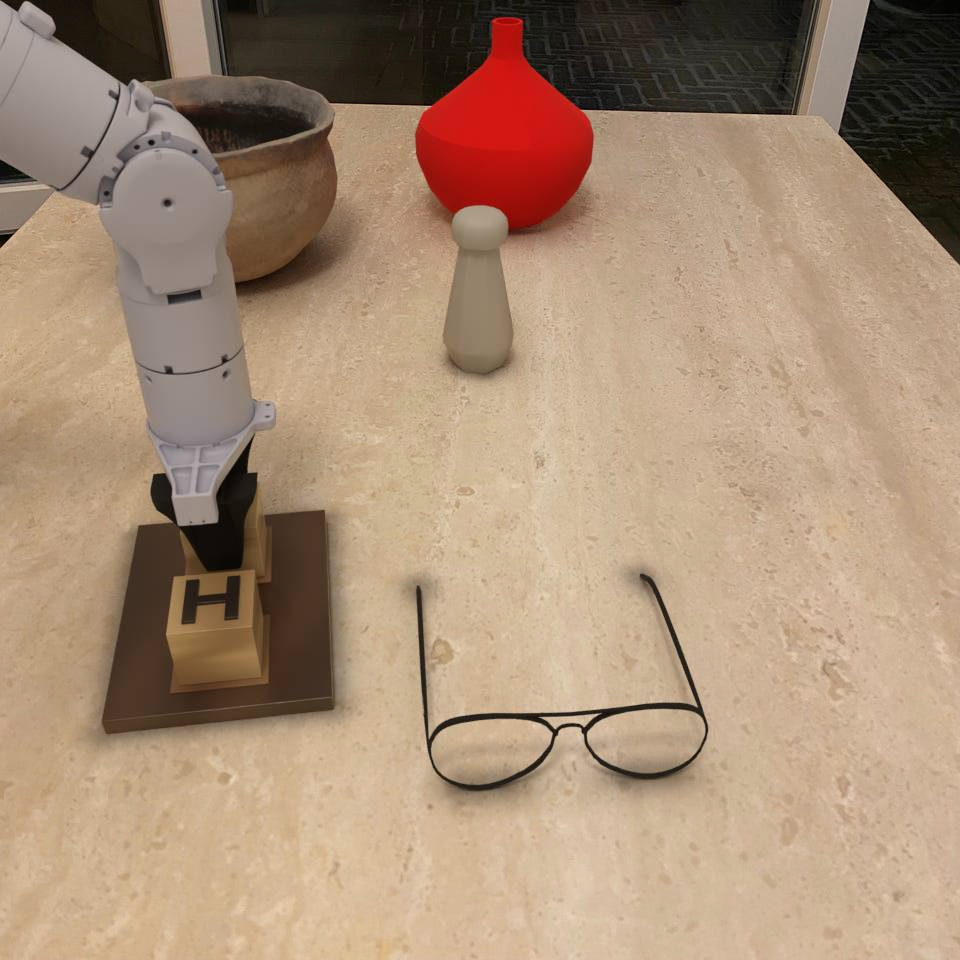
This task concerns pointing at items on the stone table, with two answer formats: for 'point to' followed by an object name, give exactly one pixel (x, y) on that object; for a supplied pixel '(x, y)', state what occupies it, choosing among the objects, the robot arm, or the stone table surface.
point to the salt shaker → (478, 292)
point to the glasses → (535, 716)
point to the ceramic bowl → (263, 161)
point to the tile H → (216, 627)
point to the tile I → (252, 543)
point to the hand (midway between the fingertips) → (226, 539)
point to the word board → (286, 634)
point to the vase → (505, 138)
